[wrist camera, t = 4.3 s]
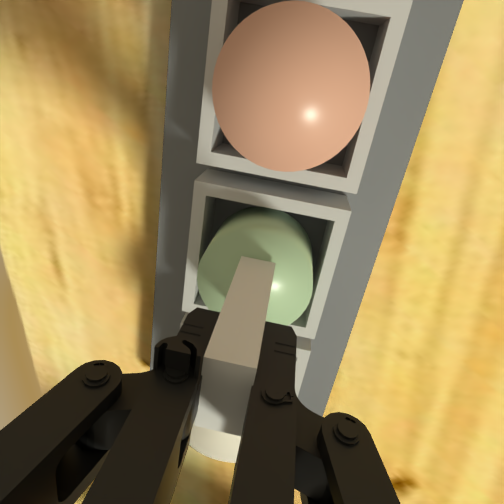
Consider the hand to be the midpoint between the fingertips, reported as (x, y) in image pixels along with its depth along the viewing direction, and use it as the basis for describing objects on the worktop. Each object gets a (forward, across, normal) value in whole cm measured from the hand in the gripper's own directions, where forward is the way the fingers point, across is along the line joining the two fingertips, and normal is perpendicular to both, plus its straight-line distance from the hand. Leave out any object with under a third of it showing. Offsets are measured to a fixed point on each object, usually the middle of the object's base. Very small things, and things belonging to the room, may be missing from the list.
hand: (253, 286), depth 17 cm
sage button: (+3, 0, 0) cm, 3 cm away
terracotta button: (+2, 0, -8) cm, 8 cm away
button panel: (+7, 0, 0) cm, 7 cm away
